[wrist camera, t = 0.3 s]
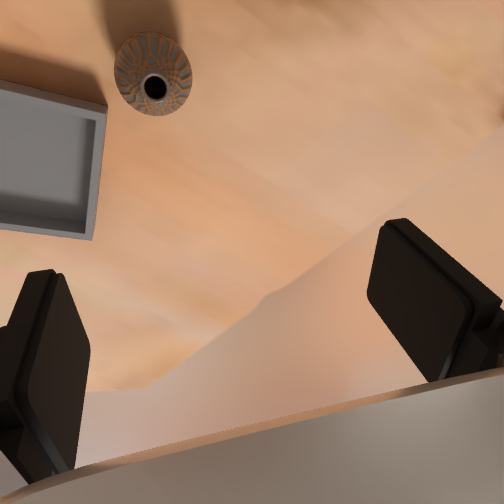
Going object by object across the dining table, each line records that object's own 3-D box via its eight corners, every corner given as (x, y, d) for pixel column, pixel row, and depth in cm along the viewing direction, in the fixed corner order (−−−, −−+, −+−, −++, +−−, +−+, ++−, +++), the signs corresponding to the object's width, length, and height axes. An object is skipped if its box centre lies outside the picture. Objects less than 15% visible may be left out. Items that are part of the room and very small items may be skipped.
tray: (-68, 62, 33) (-84, 68, 31) (108, 106, 39) (106, 114, 36) (-52, 207, 41) (-64, 221, 38) (94, 227, 46) (92, 240, 43)
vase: (100, 64, 36) (90, 84, 29) (150, 10, 35) (152, 17, 28) (155, 118, 40) (157, 147, 33) (202, 71, 39) (215, 91, 32)
